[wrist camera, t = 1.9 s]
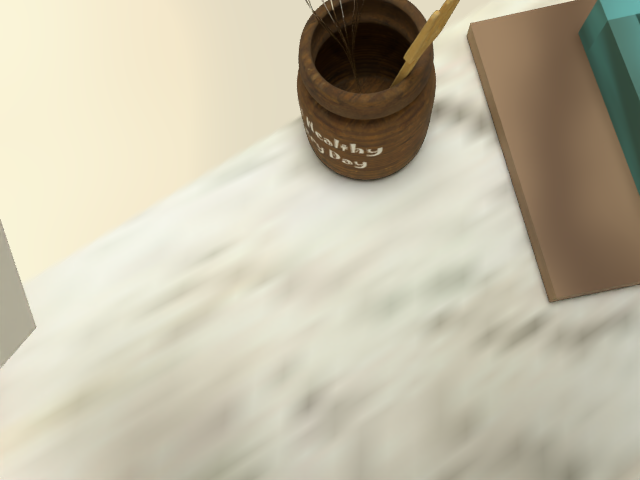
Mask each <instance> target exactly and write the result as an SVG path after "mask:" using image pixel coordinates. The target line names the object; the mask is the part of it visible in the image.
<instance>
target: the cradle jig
mask: <svg viewBox="0 0 640 480" xmlns="http://www.w3.org/2000/svg"><path fill="white" fill-rule="evenodd" d="M467 38H468V41H469V45H470V48H471V51H472V54H473V57H474V61H475V64H476V67H477V70H478V74H479V77H480V80H481V83H482V86H483V90H484V93H485V96H486V99H487V102H488V106H489V109H490V112H491V115H492V119H493V122H494V125H495V128H496V131H497V135H498V138H499V141H500V144H501V148H502V151H503V154H504V157H505V160H506V164H507V167H508V170H509V173H510V177H511V180H512V183H513V186H514V189H515V193H516V196H517V199H518V202H519V206H520V209H521V212H522V215H523V218H524V222H525V225H526V228H527V231H528V235H529V238H530V241H531V244H532V247H533V251H534V254H535V257H536V260H537V264H538V267H539V270H540V273H541V276H542V280H543V283H544V286H545V289H546V293H547V296H548V299H549V302H554V301H559V300H564V299H568V298H573V297H578V296H583V295H588V294H593V293H598V292H603V291H608V290H613V289H618V288H623V287H628V286H633V285H638V284H640V0H575V1H570V2H566V3H561V4H557V5H552V6H547V7H543V8H538V9H534V10H529V11H525V12H520V13H516V14H511V15H506V16H502V17H497V18H493V19H488V20H484V21H479V22H475V23H470V26H469V30H468V34H467Z"/></svg>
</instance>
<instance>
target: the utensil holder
mask: <svg viewBox="0 0 640 480" xmlns="http://www.w3.org/2000/svg"><path fill="white" fill-rule="evenodd" d="M305 1H306V2H307V0H305ZM459 1H460V0H446V1H445V3H444V4H443V6H442V7H441V9H440V10H439V11H438V10H436V11H435V12H434V13H433V14H432V15H431V17H430V18H429V20H428V21H426V19H425V18H424V16H423V15H422V14H421V12H420V11H419V10H418V9H417V8H416V7H415V6H414V5H413V4H412V3H411V2H409V1H408V0H328V1H326V2H325V3H324V1H323V0H322V2H323V4H322V5H321V6H320V7H319V8H318V9H317V10H316V11H314V10H313V9H312V7H311V4H310V1H309V0H308V2H309V3H308V2H307V4H308V6H309V7H310V8H311V10H312V12H313V14H312V15H311V17H310V18H309V20H308V21H307V23H306V25H305V27H304V29H303V32H302V35H301V39H300V45H299V70H298V77H297V92H298V100H299V106H300V110H301V115H302V119H303V123H304V127H305V130H306V134H307V137H308V139H309V142H310V144H311V146H312V148H313V150H314V152H315V153H316V155H317V156H318V158H319V159H320V160H321V161H322V162H323V163H324V164H325V165H326V166H327V167H329V168H330V169H332V170H333V171H335V172H336V173H339V174H341V175H343V176H346V177H349V178H353V179H361V180H370V179H378V178H382V177H385V176H388V175H391V174H393V173H395V172H397V171H398V170H400V169H402V168H403V167H404V166H405V165H407V164H408V163H409V162H410V161H411V160H412V159H413V158H414V156H415V155H416V154H417V152H418V151H419V149H420V147H421V145H422V143H423V141H424V139H425V136H426V133H427V129H428V126H429V122H430V117H431V113H432V108H433V103H434V97H435V89H436V74H435V68H434V63H433V59H434V52H433V41H434V40H435V38H436V37H437V36H438V35H439V34H440V32H441V31H442V29H443V28H444V26H445V24H446V22H447V21H448V19H449V18H450V16H451V14H452V13H453V11H454V9H455V8H456V6H457V4H458V3H459Z"/></svg>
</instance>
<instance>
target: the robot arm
mask: <svg viewBox="0 0 640 480" xmlns="http://www.w3.org/2000/svg"><path fill="white" fill-rule="evenodd" d="M35 328H36V325H35V322H34V319H33V316H32V313H31V310H30V307H29V304H28V301H27V298H26V295H25V292H24V289H23V286H22V283H21V280H20V277H19V274H18V271H17V268H16V265H15V262H14V259H13V256H12V253H11V250H10V247H9V244H8V241H7V238H6V235H5V232H4V229H3V226H2V223H1V220H0V368H1V367H2V366H3V365H4V364H5V363H6V361H7V360H8V359H9V358H10V357H11V356H12V355H13V353H14V352H15V351H16V350H17V349H18V348H19V347H20V345H21V344H22V343H23V342H24V341H25V340H26V339H27V338H28V336H29V335H30V334H31V333H32V332H33V331H34V330H35Z"/></svg>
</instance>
